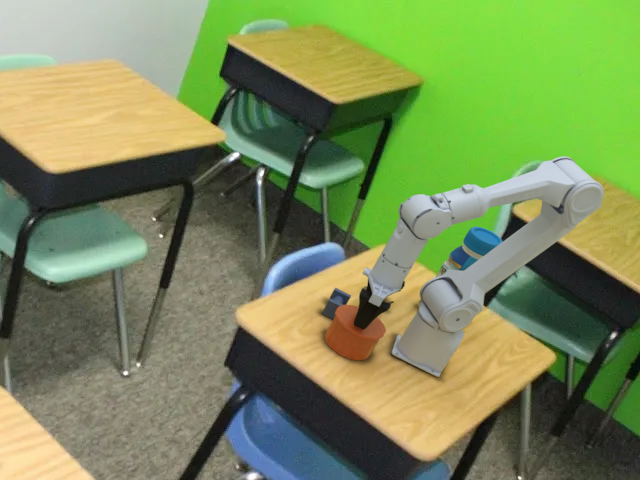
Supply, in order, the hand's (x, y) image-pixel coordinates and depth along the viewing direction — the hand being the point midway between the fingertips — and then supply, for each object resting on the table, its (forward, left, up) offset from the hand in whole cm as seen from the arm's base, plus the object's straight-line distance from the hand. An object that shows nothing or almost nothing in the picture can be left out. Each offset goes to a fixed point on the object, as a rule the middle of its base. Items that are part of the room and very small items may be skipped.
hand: (362, 318), depth 172 cm
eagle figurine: (-2, -20, -7) cm, 22 cm away
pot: (0, 0, -6) cm, 6 cm away
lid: (0, 0, -1) cm, 1 cm away
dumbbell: (+5, -10, -6) cm, 12 cm away
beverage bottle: (-14, -28, -7) cm, 32 cm away
